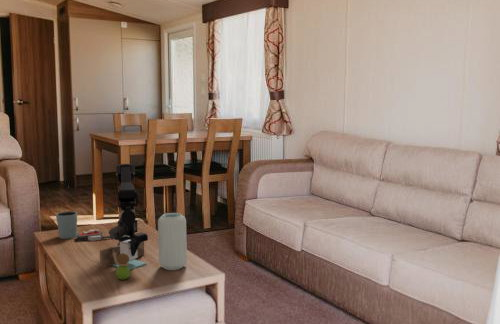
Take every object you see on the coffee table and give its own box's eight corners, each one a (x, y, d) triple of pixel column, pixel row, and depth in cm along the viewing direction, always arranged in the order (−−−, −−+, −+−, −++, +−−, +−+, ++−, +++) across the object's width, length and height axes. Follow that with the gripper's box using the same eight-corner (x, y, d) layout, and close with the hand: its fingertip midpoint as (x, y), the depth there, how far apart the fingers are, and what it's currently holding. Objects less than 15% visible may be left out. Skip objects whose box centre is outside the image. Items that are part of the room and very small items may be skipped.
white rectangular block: (130, 255, 216) (129, 239, 215) (137, 257, 213) (137, 241, 212) (120, 258, 212) (119, 242, 211) (127, 260, 209) (127, 244, 208)
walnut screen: (142, 253, 227) (141, 238, 227) (144, 254, 227) (143, 239, 226) (100, 266, 211) (99, 250, 210) (102, 267, 210) (101, 251, 209)
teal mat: (131, 259, 220) (131, 258, 220) (146, 264, 213) (146, 263, 213) (112, 265, 212) (112, 264, 212) (127, 270, 206) (127, 269, 206)
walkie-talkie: (75, 243, 245) (117, 239, 252) (74, 234, 244) (117, 230, 251) (74, 238, 253) (115, 234, 260) (74, 230, 252) (115, 226, 259)
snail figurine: (114, 276, 199) (113, 247, 197) (131, 276, 199) (130, 247, 198) (112, 282, 194) (111, 251, 192) (129, 281, 194) (128, 251, 193)
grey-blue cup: (74, 239, 250) (72, 215, 248) (53, 239, 250) (52, 215, 248) (81, 233, 260) (80, 211, 258) (61, 233, 260) (60, 210, 258)
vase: (186, 261, 217) (185, 211, 214) (187, 271, 206) (186, 217, 203) (159, 263, 215) (157, 212, 212) (158, 272, 204) (157, 218, 201)
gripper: (98, 218, 210) (99, 254, 212) (125, 225, 198) (127, 264, 200) (120, 213, 218) (121, 248, 220) (148, 220, 206) (149, 257, 209)
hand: (129, 254), depth 212 cm, fingers closed on white rectangular block, 5 cm apart
